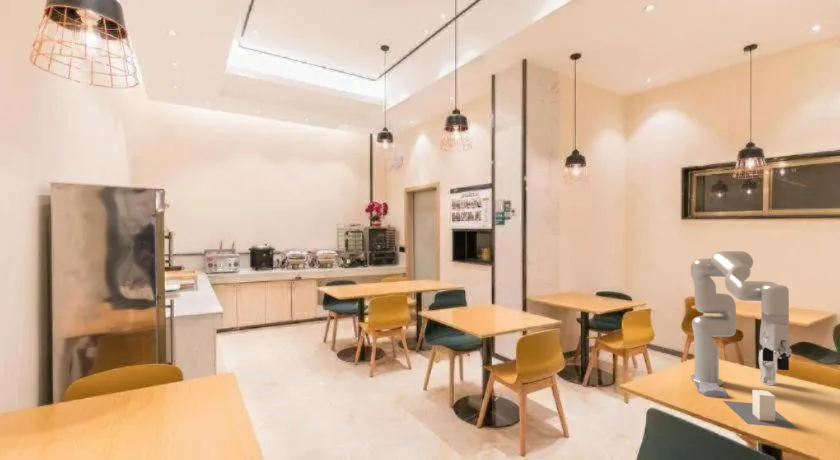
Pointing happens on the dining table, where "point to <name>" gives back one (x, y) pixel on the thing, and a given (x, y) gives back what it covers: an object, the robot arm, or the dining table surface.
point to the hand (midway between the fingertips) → (775, 365)
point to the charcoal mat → (747, 415)
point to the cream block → (764, 405)
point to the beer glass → (768, 369)
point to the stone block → (711, 389)
